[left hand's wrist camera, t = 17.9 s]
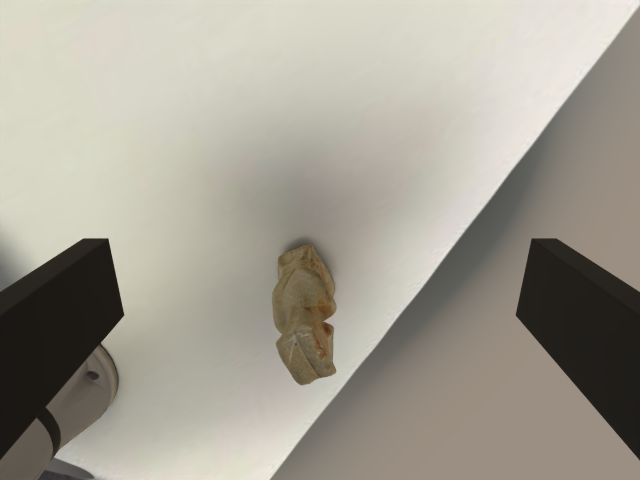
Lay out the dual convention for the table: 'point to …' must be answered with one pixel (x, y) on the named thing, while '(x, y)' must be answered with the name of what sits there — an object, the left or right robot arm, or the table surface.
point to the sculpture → (304, 314)
